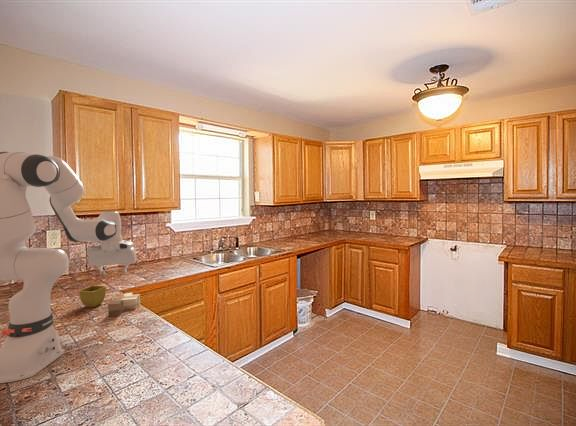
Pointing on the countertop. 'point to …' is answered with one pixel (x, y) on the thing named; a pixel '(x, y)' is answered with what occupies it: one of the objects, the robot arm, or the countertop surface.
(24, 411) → the countertop surface
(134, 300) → the maple block
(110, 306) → the walnut cube
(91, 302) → the flower pot
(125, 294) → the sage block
